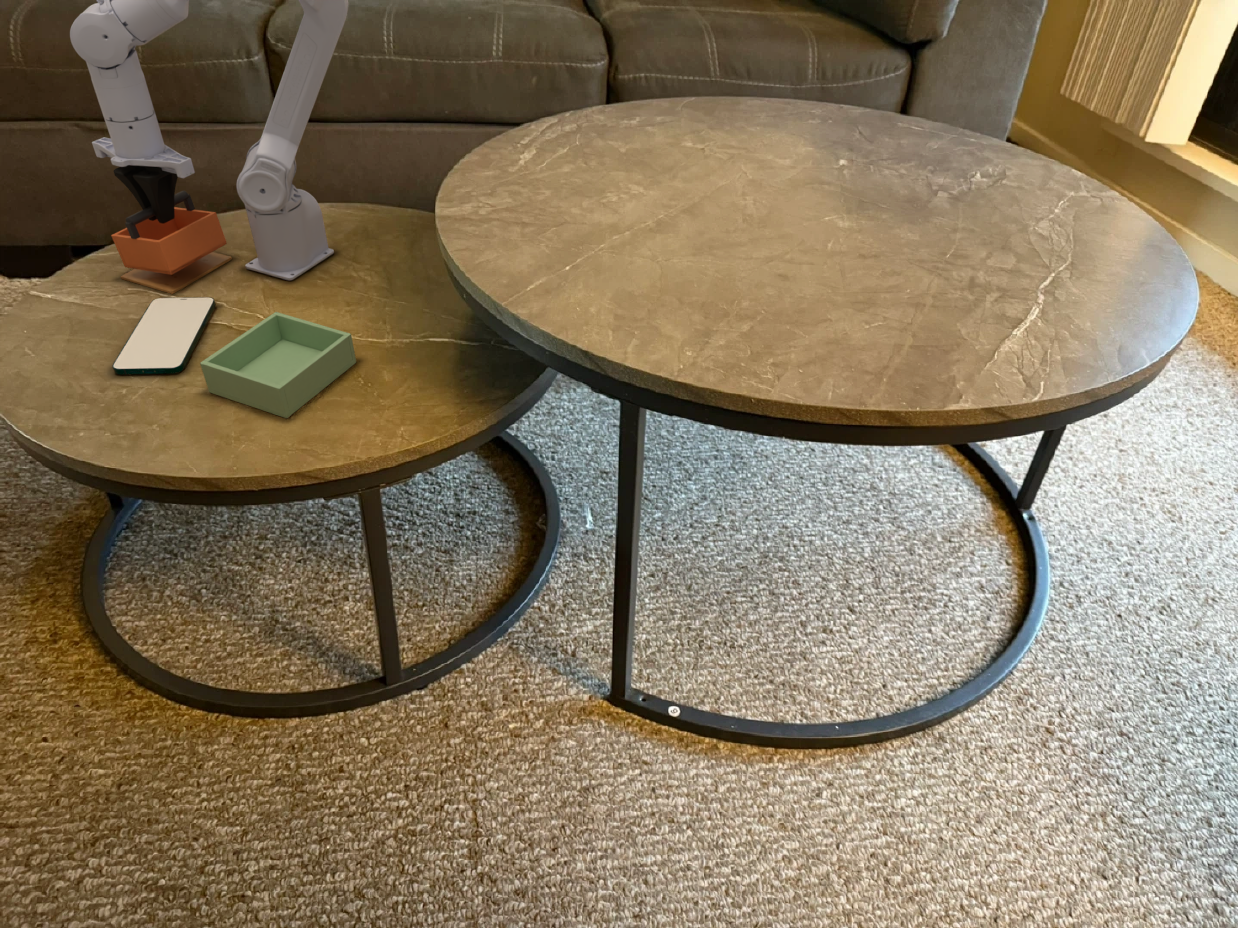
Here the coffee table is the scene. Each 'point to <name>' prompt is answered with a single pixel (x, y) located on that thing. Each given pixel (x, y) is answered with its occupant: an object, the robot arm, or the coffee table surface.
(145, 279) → the cork pad
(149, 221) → the terracotta tote
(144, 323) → the smartphone
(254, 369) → the green tray
